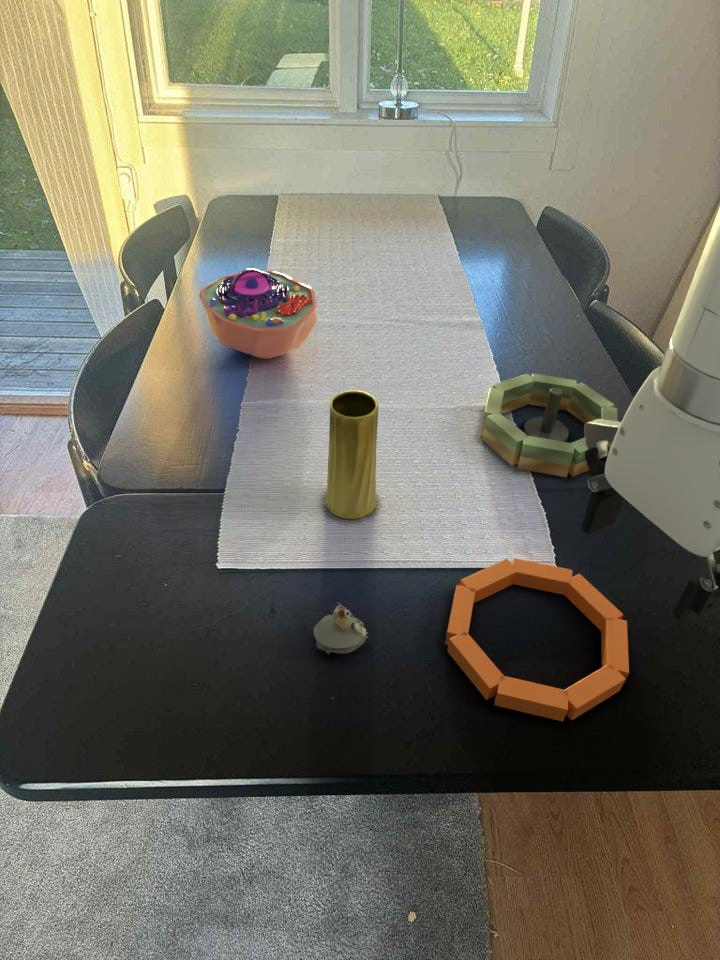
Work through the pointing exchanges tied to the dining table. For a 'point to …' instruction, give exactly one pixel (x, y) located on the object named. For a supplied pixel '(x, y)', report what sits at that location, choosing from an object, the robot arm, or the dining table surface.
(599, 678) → the orange ring
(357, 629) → the figurine
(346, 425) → the vase
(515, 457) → the ring stack
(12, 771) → the dining table surface
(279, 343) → the cell model
